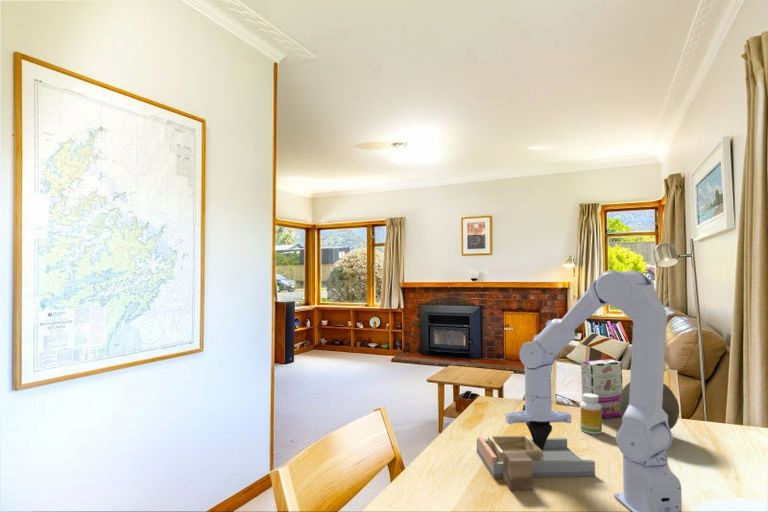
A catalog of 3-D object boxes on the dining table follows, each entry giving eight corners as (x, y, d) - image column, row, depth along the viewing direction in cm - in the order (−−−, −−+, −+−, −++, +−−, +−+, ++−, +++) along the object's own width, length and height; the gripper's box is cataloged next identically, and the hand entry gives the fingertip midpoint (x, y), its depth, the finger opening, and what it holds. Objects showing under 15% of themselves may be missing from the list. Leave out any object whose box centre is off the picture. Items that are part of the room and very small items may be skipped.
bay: (595, 475, 94) (594, 456, 94) (493, 478, 93) (493, 459, 93) (565, 449, 108) (565, 433, 108) (476, 451, 106) (476, 435, 106)
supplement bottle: (604, 435, 117) (603, 398, 118) (582, 433, 118) (582, 397, 119) (598, 428, 122) (598, 393, 123) (578, 426, 124) (577, 391, 124)
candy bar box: (611, 411, 137) (610, 358, 137) (624, 416, 132) (623, 361, 133) (581, 414, 134) (580, 360, 134) (592, 420, 129) (592, 364, 130)
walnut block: (532, 490, 88) (532, 460, 88) (510, 491, 87) (510, 460, 88) (524, 480, 92) (524, 451, 92) (503, 480, 92) (503, 451, 92)
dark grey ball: (608, 435, 117) (607, 378, 118) (632, 423, 126) (631, 371, 126) (667, 452, 106) (666, 389, 107) (689, 438, 115) (688, 381, 115)
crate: (543, 467, 96) (543, 451, 96) (500, 468, 95) (500, 452, 95) (526, 449, 105) (526, 435, 105) (488, 450, 104) (488, 436, 105)
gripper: (561, 389, 105) (561, 446, 105) (501, 390, 104) (501, 448, 104) (575, 397, 98) (576, 459, 98) (511, 398, 97) (512, 460, 97)
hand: (538, 454), depth 100 cm, fingers closed
